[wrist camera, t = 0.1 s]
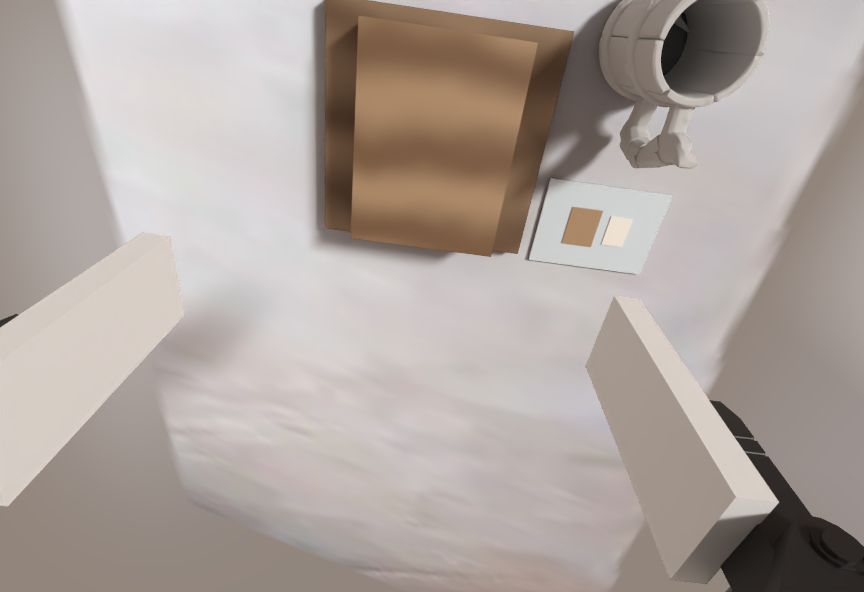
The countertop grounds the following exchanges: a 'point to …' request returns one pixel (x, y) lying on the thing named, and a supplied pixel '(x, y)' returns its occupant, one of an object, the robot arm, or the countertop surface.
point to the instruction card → (597, 226)
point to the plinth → (436, 124)
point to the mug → (678, 67)
